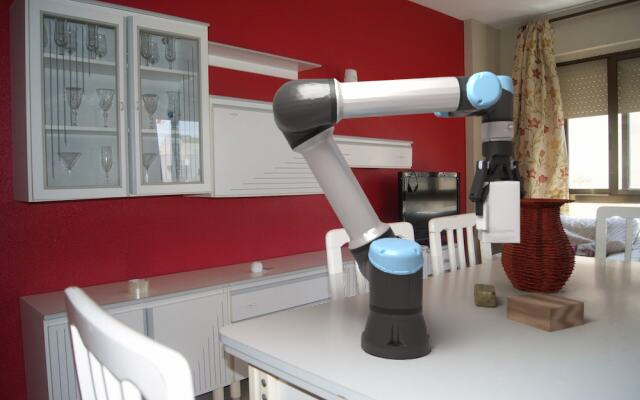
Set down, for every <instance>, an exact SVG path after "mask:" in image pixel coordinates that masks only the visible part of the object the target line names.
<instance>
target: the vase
mask: <svg viewBox="0 0 640 400" xmlns="http://www.w3.org/2000/svg"><path fill="white" fill-rule="evenodd" d="M576 201H577V200H575V199H566V198H547V197H546V198H535V197H534V198H533V197H532V198H531V197H529V198H528V197H527V198H525V197H524V199H523V200H520V243H502V244H503V245H502V247H501V250H500V257H501V258H500V262H501V263H500V264H501V267H502V268H503V271H504V274H505V275H506V277H507V279H508V281H510V283H511V285H513V286H512V287H514V288H516V289H518V290H521V291H527V292H532V293H537V292H542V293H546V294H550V293H556V292H559V291H561V290H562V289H563V287H564V286H566V283H567V282H568V281H570V279H569V278H571V275H573V271H575V268H576V266H575V265H576V264H577V262H576V257H577V256H576V255H577V254H576V252H575V250H574V248H573V245H572V242H570V241H571V240H570V239H569V236H568V234H567V232H566V230H565V227H564V226H563V224H562V222H563V221H562V219H561V210H562V208H561V207H562V206H564V205H565V204H572V203H575V202H576Z"/></svg>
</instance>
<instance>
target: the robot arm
mask: <svg viewBox="0 0 640 400" xmlns="http://www.w3.org/2000/svg"><path fill="white" fill-rule="evenodd" d="M514 92H515V90H514V80H513V78H512V77H511V76H507V75H496V74H494V73H493V72H491V71H481V72H476V73H474V74H472V75H459V76H439V77H425V78H408V79H407V78H406V79H393V80H392V79H389V80H388V79H387V80H369V81H355V82H354V81H353V82H352V81H350V82H340V81H339V80H337V79H336V78H301V79H300V78H299V79H294V80H290V81H289V80H288V81H287V82H284V84H282V85H281V86H280V87H279V88H278V89H277V90H276V92H275V94H274V96H273V99H272V113H273V114H272V116H273V120H274V124H275V125H276V127H277V128H278V131H280V132H281V133H282V135H283V136H284V139H285V140H286V141H287V144H288V145H289V147H290V148H291V150H292V152H294V153H297V154H300V155H302V157H303V159H304V161H305V162H306V164H307V166H308V167H309V170H310V171H311V173H312V175H313V177H314V179H315V180H316V182H317V184H318V185H319V187H320V189H321V190H322V192H323V193H324V196H325V197H326V199H327V201H328V203H329V204H330V206H331V208H332V210H333V212H334V213H335V215H336V217H337V218H338V220H339V222H340V224H341V225H342V227H343V229H344V231H345V233H346V234H347V236H348V238H349V242H348V247H347V248H348V250H349V251H350V254H351V255H352V257H353V258H354V261H355V262H356V263H357V266H358V267H357V268H358V270H359V272H360V273H361V275H362V277H364V279H366V280H367V282H368V285H369V286H368V288H369V289H368V290H369V291H368V296H369V298H368V301H369V302H368V304H369V305H368V308H369V309H368V314H367V319H366V322H365V326H364V329H363V331H362V332H361V333H362V334H361V337H360V341H361V343H360V344H361V345H360V346H361V349H362V350H364V351H365V353H368V354H371V355H374V356H377V357H381V358H385V359H396V360H397V359H398V360H399V359H400V360H403V359H413V358H415V359H416V358H420V357H422V356H425V355H427V354H429V353H430V351H431V344H432V343H431V341H432V340H431V336H430V334H429V333H428V328H427V323H426V321H425V318H424V313H423V303H424V301H423V299H424V298H423V297H424V296H423V295H424V292H423V291H424V287H423V286H424V262H425V260H424V252H423V251H424V250H423V248H422V246H421V245H420V244H419V243H418V242H417V241H414V240H411V239H407V238H402V237H401V238H400V237H399V238H398V237H397V236H396V234H395V232H394V231H393V229H392V227H391V225H390V224H389V223H385V222H383V221H381V219H379V216H378V215H377V213H376V212H375V210H374V208H373V206H372V204H371V203H370V200H369V198H368V197H367V195H366V193H365V192H364V190H363V188H362V186H361V185H360V183H359V181H358V179H357V178H356V176H355V174H354V173H353V170H352V168H351V167H350V165H349V163H348V162H347V160H346V158H345V156H344V155H343V153H342V151H341V149H340V147H339V146H338V144H337V142H336V141H335V139H334V136H333V134H334V131H335V126H334V124H335V125H336V124H338V123H339V122H341V120H343V119H344V120H345V119H354V118H355V119H358V118H372V117H388V116H401V115H416V114H417V115H418V114H432V113H433V114H434V115H435V116H436V117H437V118H447V119H450V118H467V117H468V118H469V117H475V118H477V117H478V118H479V117H480V118H481V125H480V126H481V134H480V135H481V136H480V138H481V140H482V141H483V142H482V143H481V156H482V157H484V158H485V159H484V160H477V161H476V162H475V164H476V165H475V172H474V176H473V179H472V185H471V187H470V191H469V196H468V200H470V201H471V202H472V203H475V204H474V205H475V208H474V209H475V221H476V222H475V224H476V226H475V227H476V230H478V229H482V230H488V207H487V203H486V202H485V200H486V198H487V195H488V193H489V191H490V182H494V181H497V180H498V179H499V181H519V182H520V200H523V199H524V198H525V197H526V191H525V188H524V184H523V180H522V176H521V173H520V169H519V167H520V166H519V160H511V158H510V157H513V156H514V155H515V142H514V141H513V140H512V139H513V138H514V137H515V135H514V131H515V130H514V128H515V127H514V102H515V100H514V99H515V93H514ZM484 182H488V184H487V185H486V186H485V187H484V188H483V186H484Z"/></svg>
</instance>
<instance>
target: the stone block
mask: <svg viewBox="0 0 640 400" xmlns="http://www.w3.org/2000/svg"><path fill="white" fill-rule="evenodd" d="M473 286H474V287H473V288H474V290H473V297H474V298H473V299H474V300H473V301H474V303H475V306H477V307H484V308H496V304H497V303H496V297H497V296H496V295H497V294H496V290H495V289H496V288H495V286H494V285H492V284H483V283H474V285H473Z"/></svg>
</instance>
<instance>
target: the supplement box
mask: <svg viewBox="0 0 640 400" xmlns="http://www.w3.org/2000/svg"><path fill="white" fill-rule="evenodd" d="M487 184H488V182H484V186H483V188H484V187H485V186H486V185H487ZM485 202H486V203H487V207H488V230H482V229H477V239H478V240H479V241H480V242H481V243H482V244H505V243H520V182H519V181H502V180H495V181H494V182H490V191H489V193H488V195H487V198H486V200H485Z"/></svg>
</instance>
